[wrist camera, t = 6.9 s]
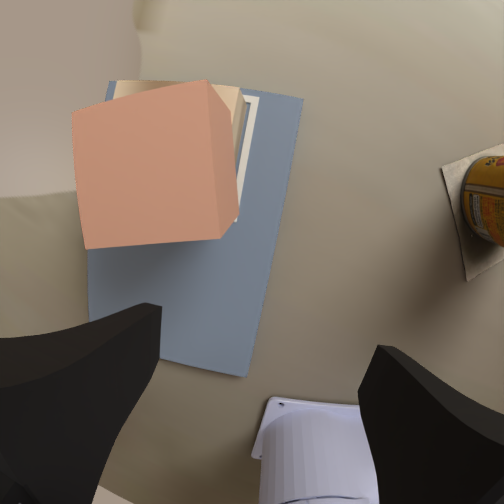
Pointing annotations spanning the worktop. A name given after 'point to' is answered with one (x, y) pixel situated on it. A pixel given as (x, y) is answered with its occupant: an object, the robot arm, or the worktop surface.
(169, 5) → the worktop surface
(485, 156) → the condiment
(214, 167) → the terracotta block
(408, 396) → the robot arm
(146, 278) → the board
